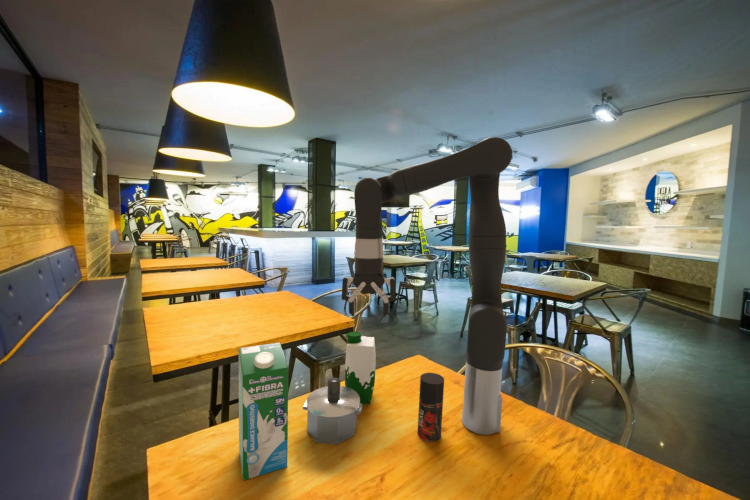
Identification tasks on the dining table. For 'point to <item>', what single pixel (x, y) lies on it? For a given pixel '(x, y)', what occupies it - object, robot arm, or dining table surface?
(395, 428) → the dining table surface
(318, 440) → the pot
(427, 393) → the deodorant
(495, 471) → the dining table surface
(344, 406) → the lid
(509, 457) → the dining table surface
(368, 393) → the soya milk
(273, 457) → the milk carton
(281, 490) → the dining table surface
